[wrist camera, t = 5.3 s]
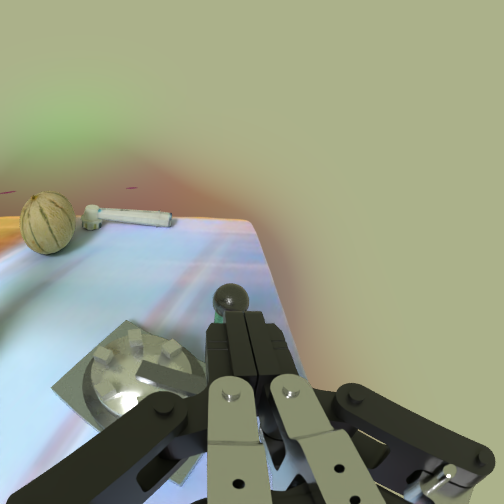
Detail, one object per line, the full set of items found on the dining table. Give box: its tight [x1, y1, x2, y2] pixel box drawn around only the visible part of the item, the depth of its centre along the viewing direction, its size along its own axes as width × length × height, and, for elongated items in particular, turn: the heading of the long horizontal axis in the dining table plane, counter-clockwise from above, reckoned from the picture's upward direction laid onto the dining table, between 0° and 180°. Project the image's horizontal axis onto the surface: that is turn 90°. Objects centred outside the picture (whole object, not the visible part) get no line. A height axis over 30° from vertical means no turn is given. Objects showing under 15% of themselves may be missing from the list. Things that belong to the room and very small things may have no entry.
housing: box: [51, 320, 206, 487], centre depth 35 cm, size 22×18×4 cm
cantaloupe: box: [20, 191, 76, 254], centre depth 56 cm, size 15×15×15 cm
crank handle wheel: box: [91, 283, 249, 419], centre depth 29 cm, size 18×13×19 cm
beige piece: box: [81, 205, 172, 230], centre depth 73 cm, size 5×7×25 cm
